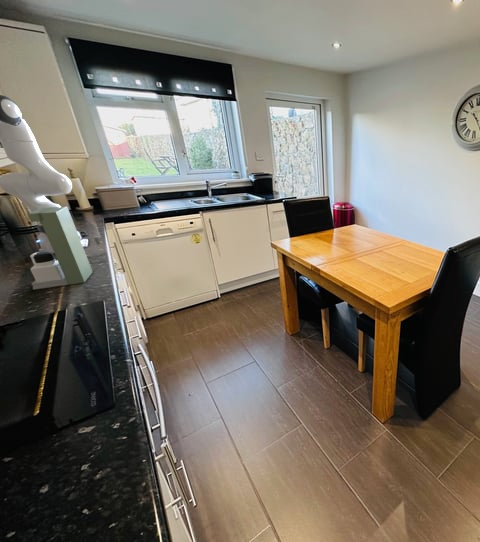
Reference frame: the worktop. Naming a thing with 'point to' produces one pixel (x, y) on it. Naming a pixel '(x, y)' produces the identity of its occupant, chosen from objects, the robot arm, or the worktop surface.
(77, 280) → the sage green upright pillar
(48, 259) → the medicine bottle
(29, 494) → the worktop surface
